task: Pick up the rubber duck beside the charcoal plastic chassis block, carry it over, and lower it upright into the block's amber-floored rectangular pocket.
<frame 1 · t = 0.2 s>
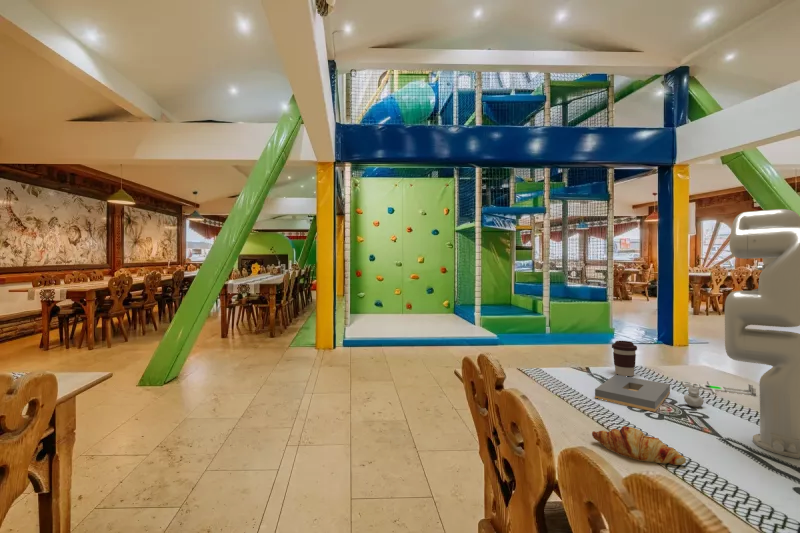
hand: (778, 317, 133), 31 cm above the table, tool pointing down, fingers open, 9 cm apart
croissant: (635, 455, 98), on the table
coffee cup: (624, 375, 170), on the table
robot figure: (716, 390, 149), on the table
chassis block: (633, 395, 142), on the table
rubber duck: (693, 406, 132), on the table
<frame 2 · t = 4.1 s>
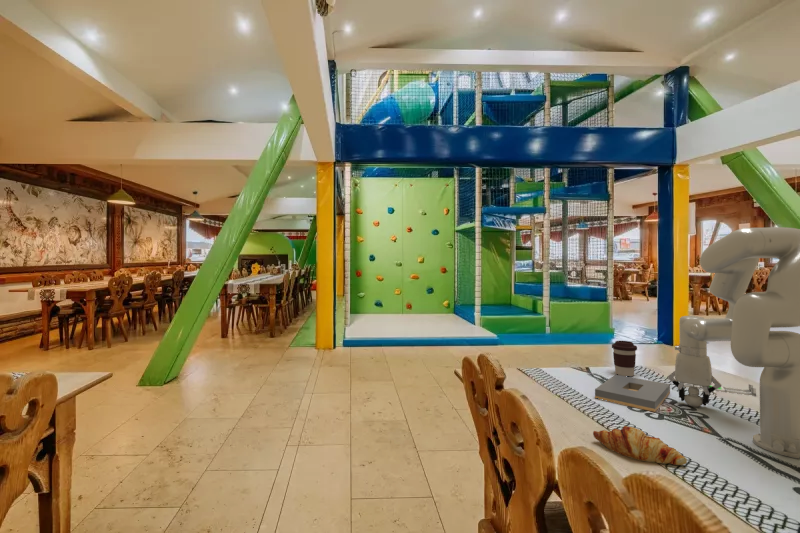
hand: (693, 401, 132), 1 cm above the table, tool pointing down, fingers closed on rubber duck, 5 cm apart
rubber duck: (693, 406, 132), on the table, touching gripper
everything else where it was.
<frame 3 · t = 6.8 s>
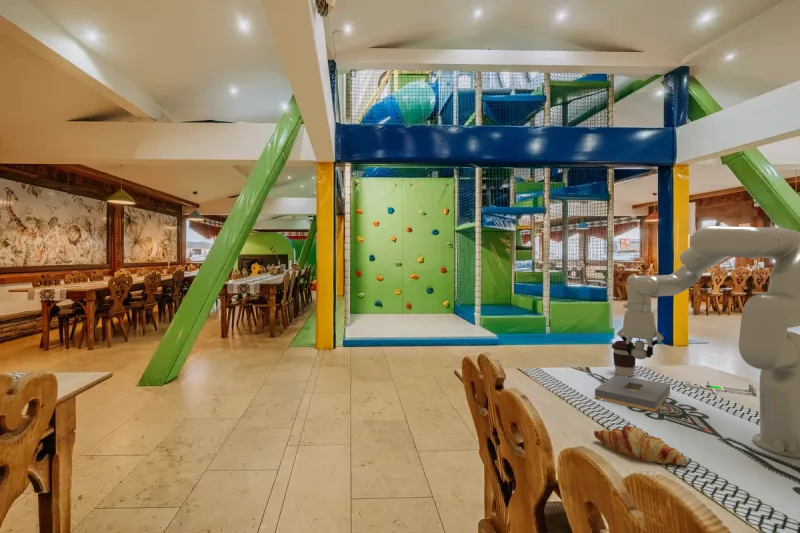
hand: (639, 355, 141), 16 cm above the table, tool pointing down, fingers closed on rubber duck, 5 cm apart
rubber duck: (639, 359, 141), point 14 cm above the table, touching gripper
everything else where it was.
when the fingers open (4 cm above the table, at t = 9.7 s): rubber duck stays where it is, resting on chassis block.
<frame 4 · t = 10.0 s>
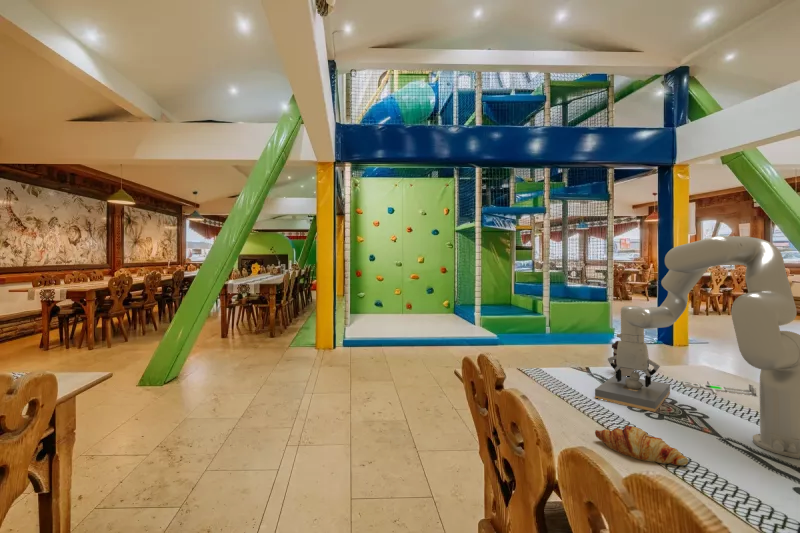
hand: (633, 383, 142), 5 cm above the table, tool pointing down, fingers open, 9 cm apart
rubber duck: (632, 389, 143), point 2 cm above the table, touching chassis block
everything else where it was.
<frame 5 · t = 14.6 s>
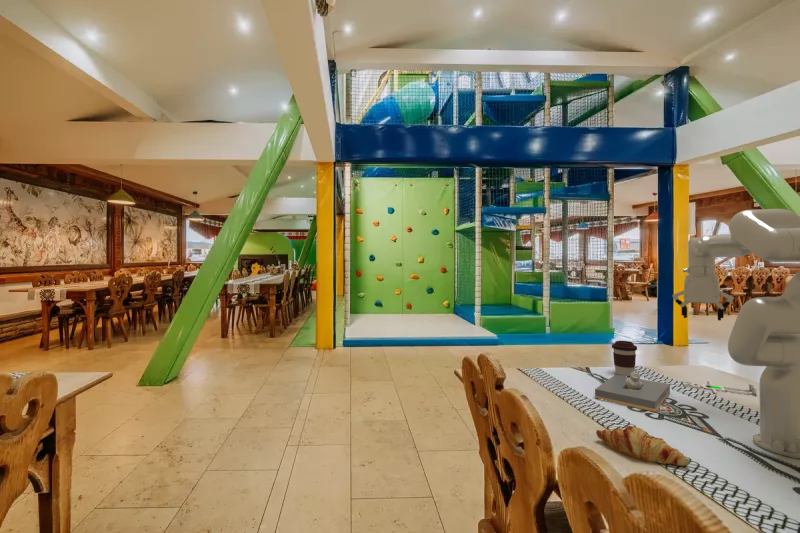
hand: (702, 318, 135), 30 cm above the table, tool pointing down, fingers open, 9 cm apart
at the end: rubber duck inside the target area on the chassis block (0.2 cm from its centre), point 2.4 cm above the chassis block's base; rubber duck tilted 10°; the gripper is holding nothing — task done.
